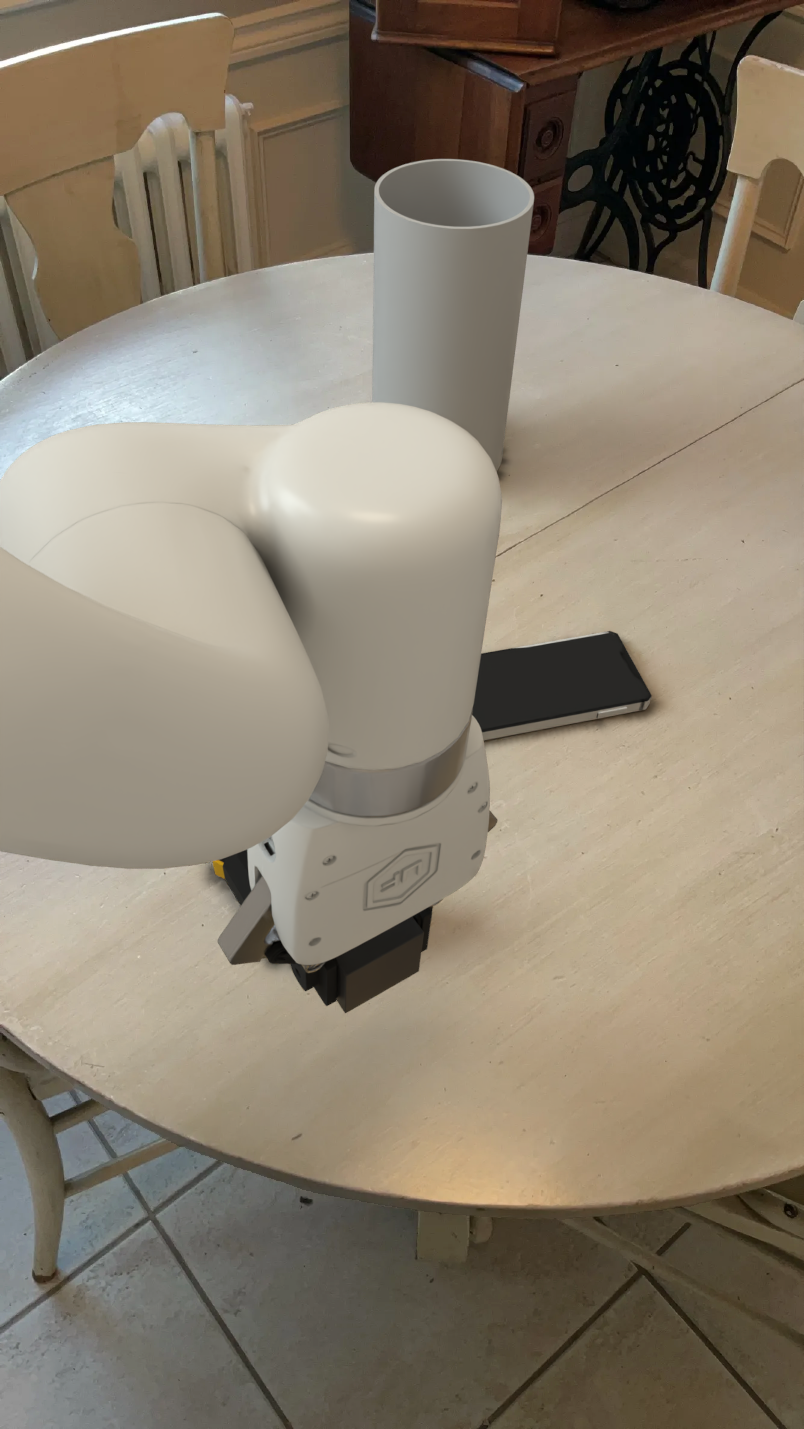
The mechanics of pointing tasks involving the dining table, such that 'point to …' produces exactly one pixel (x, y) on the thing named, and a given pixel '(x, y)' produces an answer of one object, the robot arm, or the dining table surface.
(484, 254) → the cylinder vase
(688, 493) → the dining table surface
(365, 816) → the robot arm
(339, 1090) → the dining table surface
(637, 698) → the smartphone
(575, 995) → the dining table surface
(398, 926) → the block
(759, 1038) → the dining table surface
